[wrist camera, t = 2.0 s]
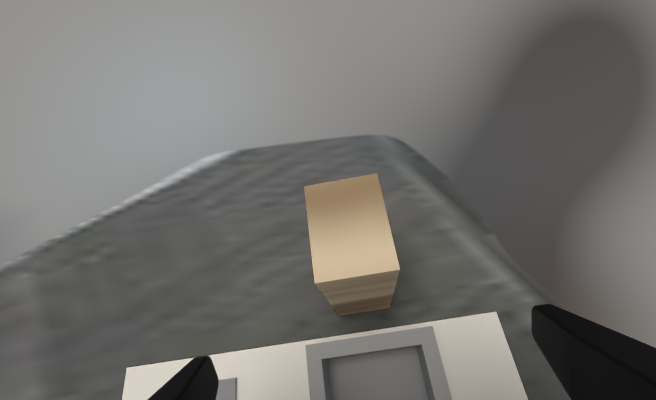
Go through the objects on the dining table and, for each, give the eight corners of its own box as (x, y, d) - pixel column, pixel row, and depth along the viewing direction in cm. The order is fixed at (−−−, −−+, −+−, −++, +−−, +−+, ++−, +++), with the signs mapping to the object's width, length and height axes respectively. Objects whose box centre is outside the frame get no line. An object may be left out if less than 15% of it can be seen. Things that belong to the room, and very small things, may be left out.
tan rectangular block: (389, 308, 21) (400, 269, 12) (339, 316, 21) (314, 283, 12) (376, 245, 23) (377, 173, 14) (330, 252, 23) (303, 186, 15)
